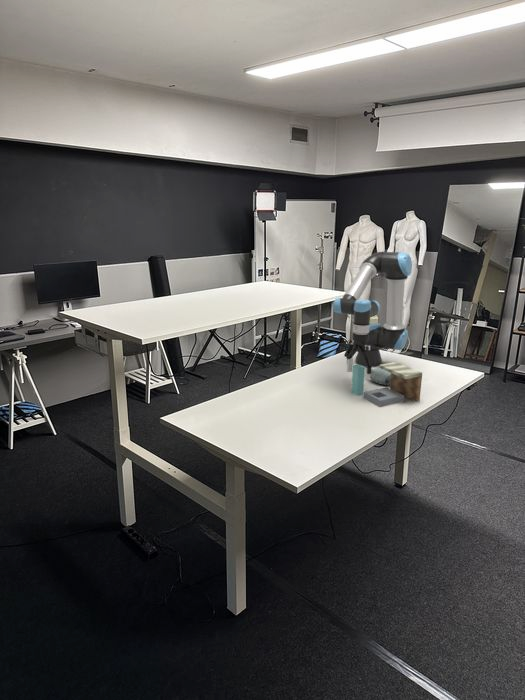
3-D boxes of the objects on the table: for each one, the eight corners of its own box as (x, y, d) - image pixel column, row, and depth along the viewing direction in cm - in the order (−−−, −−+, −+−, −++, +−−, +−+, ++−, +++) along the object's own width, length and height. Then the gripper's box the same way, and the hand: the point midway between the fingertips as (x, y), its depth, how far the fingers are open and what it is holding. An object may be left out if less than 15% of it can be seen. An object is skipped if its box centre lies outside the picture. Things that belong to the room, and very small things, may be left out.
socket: (363, 397, 225) (363, 392, 224) (386, 392, 231) (386, 387, 230) (380, 406, 215) (380, 400, 214) (403, 401, 221) (404, 395, 220)
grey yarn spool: (401, 378, 241) (393, 363, 238) (390, 390, 237) (382, 374, 234) (381, 377, 253) (373, 362, 249) (371, 388, 248) (362, 373, 245)
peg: (351, 392, 231) (352, 365, 227) (358, 391, 233) (359, 364, 229) (356, 395, 228) (358, 368, 224) (363, 394, 230) (364, 366, 226)
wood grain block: (377, 391, 232) (379, 364, 228) (393, 388, 236) (395, 361, 232) (403, 404, 217) (405, 376, 213) (419, 400, 221) (422, 372, 217)
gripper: (338, 328, 231) (336, 369, 236) (371, 339, 209) (368, 384, 215) (351, 326, 234) (348, 367, 240) (385, 337, 213) (381, 382, 218)
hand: (358, 375), depth 227 cm, fingers open, 13 cm apart
